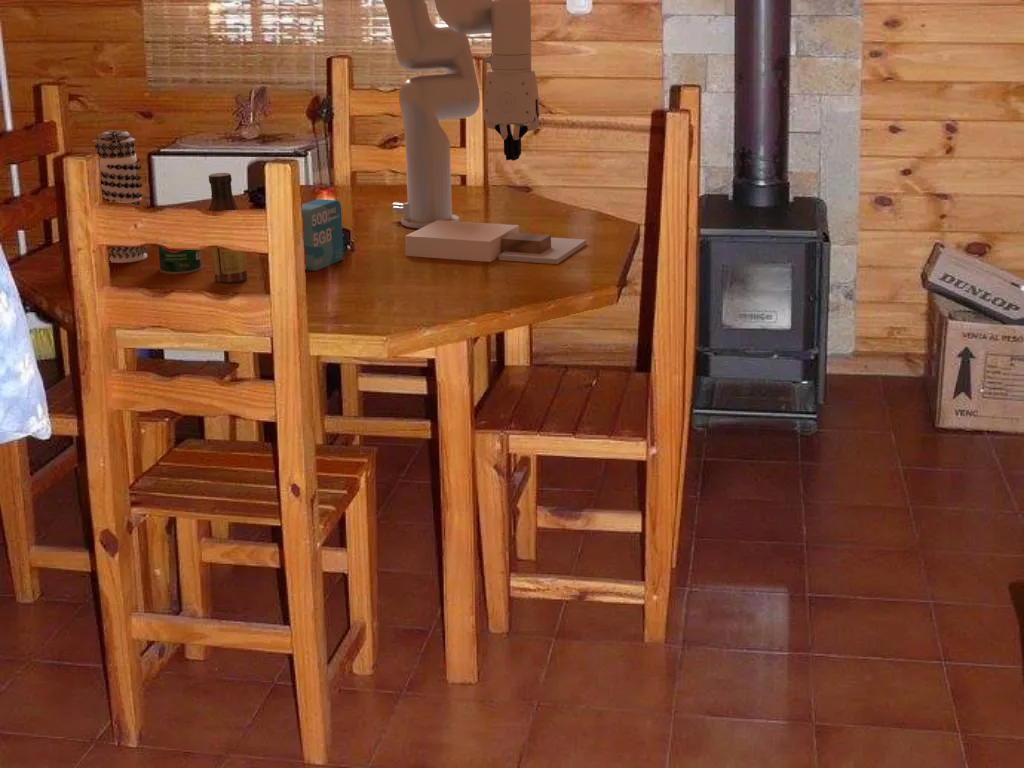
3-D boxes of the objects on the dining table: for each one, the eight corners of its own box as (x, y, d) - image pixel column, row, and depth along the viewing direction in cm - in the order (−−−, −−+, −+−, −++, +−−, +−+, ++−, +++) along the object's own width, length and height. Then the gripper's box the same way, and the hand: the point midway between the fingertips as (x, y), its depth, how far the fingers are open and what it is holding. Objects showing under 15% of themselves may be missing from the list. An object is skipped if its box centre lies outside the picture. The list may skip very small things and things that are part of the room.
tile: (502, 251, 292) (502, 238, 291) (513, 244, 297) (513, 232, 296) (540, 253, 289) (540, 241, 288) (551, 247, 294) (550, 235, 293)
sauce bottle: (254, 278, 278) (247, 172, 272) (235, 285, 273) (227, 178, 267) (225, 275, 281) (217, 170, 275) (205, 282, 275) (197, 176, 269)
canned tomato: (166, 275, 281) (160, 218, 278) (155, 267, 288) (149, 211, 284) (206, 270, 284) (202, 214, 281) (195, 262, 291) (190, 207, 288)
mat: (498, 259, 289) (498, 254, 289) (530, 240, 305) (530, 236, 304) (557, 264, 285) (557, 259, 284) (586, 244, 301) (586, 239, 300)
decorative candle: (158, 254, 299) (147, 129, 291) (133, 264, 290) (120, 136, 283) (119, 251, 302) (107, 128, 294) (93, 261, 293) (79, 134, 286)
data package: (312, 272, 281) (308, 210, 278) (292, 271, 283) (288, 208, 279) (344, 259, 292) (341, 198, 288) (324, 257, 294) (321, 197, 290)
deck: (405, 255, 294) (404, 235, 292) (438, 239, 308) (437, 220, 307) (490, 261, 287) (489, 241, 286) (519, 244, 302) (519, 225, 300)
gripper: (467, 64, 282) (469, 160, 287) (541, 66, 277) (542, 164, 282) (482, 60, 288) (484, 154, 294) (555, 62, 283) (555, 158, 289)
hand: (512, 159), depth 288 cm, fingers closed
